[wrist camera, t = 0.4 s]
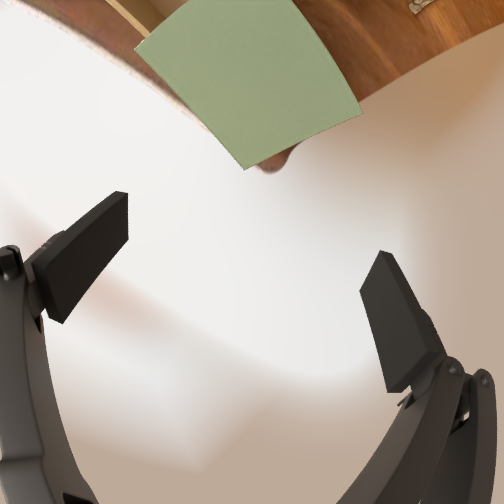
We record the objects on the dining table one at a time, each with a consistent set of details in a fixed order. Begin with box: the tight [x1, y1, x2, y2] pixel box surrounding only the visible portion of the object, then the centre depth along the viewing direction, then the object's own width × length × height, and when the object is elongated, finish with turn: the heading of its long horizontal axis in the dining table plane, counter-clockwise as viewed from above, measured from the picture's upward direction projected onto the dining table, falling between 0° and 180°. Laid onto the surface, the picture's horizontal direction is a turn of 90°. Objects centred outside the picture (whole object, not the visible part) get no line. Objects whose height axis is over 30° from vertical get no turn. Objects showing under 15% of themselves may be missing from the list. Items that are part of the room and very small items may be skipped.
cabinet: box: [134, 0, 363, 170], centre depth 25 cm, size 19×15×10 cm
